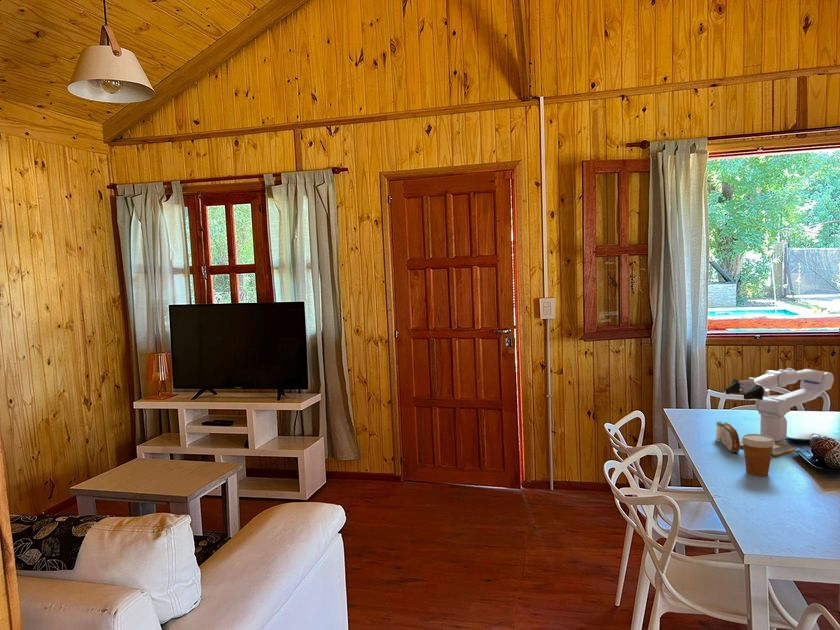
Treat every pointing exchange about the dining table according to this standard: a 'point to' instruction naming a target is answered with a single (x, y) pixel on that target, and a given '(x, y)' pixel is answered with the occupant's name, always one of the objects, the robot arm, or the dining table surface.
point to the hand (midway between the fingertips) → (735, 394)
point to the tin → (730, 438)
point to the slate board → (778, 449)
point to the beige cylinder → (719, 429)
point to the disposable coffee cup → (757, 453)
